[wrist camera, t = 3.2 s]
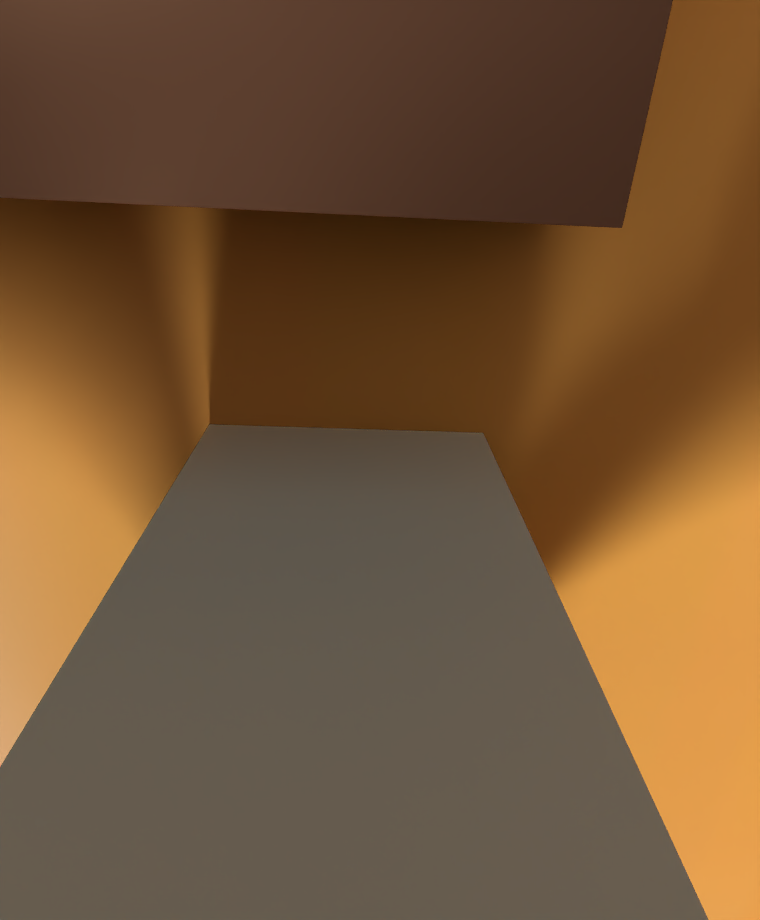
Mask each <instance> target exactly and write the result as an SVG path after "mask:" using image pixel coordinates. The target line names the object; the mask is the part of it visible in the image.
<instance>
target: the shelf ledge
mask: <svg viewBox="0 0 760 920" xmlns="http://www.w3.org/2000/svg"><path fill="white" fill-rule="evenodd" d="M672 2H673V0H0V198H18V199H39V200H59V201H80V202H100V203H121V204H141V205H162V206H182V207H203V208H223V209H244V210H264V211H285V212H305V213H326V214H346V215H367V216H387V217H408V218H428V219H449V220H469V221H490V222H510V223H531V224H551V225H572V226H592V227H613V228H622V226H623V221H624V217H625V212H626V208H627V203H628V199H629V194H630V190H631V185H632V181H633V176H634V172H635V167H636V163H637V159H638V154H639V150H640V145H641V141H642V136H643V132H644V127H645V123H646V118H647V114H648V109H649V105H650V100H651V96H652V91H653V87H654V82H655V78H656V73H657V69H658V64H659V60H660V56H661V51H662V47H663V42H664V38H665V33H666V29H667V24H668V20H669V15H670V11H671V6H672Z"/></svg>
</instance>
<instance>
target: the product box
mask: <svg viewBox="0 0 760 920" xmlns="http://www.w3.org/2000/svg"><path fill="white" fill-rule="evenodd" d="M0 920H708V918H707V916H706V913H705V911H704V909H703V907H702V905H701V903H700V901H699V898H698V896H697V894H696V892H695V890H694V888H693V885H692V883H691V881H690V879H689V877H688V875H687V872H686V870H685V868H684V866H683V864H682V862H681V859H680V857H679V855H678V853H677V851H676V849H675V846H674V844H673V842H672V840H671V838H670V836H669V834H668V831H667V829H666V827H665V825H664V823H663V821H662V818H661V816H660V814H659V812H658V810H657V808H656V805H655V803H654V801H653V799H652V797H651V795H650V792H649V790H648V788H647V786H646V784H645V782H644V779H643V777H642V775H641V773H640V771H639V769H638V766H637V764H636V762H635V760H634V758H633V756H632V754H631V751H630V749H629V747H628V745H627V743H626V741H625V738H624V736H623V734H622V732H621V730H620V728H619V725H618V723H617V721H616V719H615V717H614V715H613V712H612V710H611V708H610V706H609V704H608V702H607V699H606V697H605V695H604V693H603V691H602V689H601V686H600V684H599V682H598V680H597V678H596V676H595V674H594V671H593V669H592V667H591V665H590V663H589V661H588V658H587V656H586V654H585V652H584V650H583V648H582V645H581V643H580V641H579V639H578V637H577V635H576V632H575V630H574V628H573V626H572V624H571V622H570V619H569V617H568V615H567V613H566V611H565V609H564V606H563V604H562V602H561V600H560V598H559V596H558V594H557V591H556V589H555V587H554V585H553V583H552V581H551V578H550V576H549V574H548V572H547V570H546V568H545V565H544V563H543V561H542V559H541V557H540V555H539V552H538V550H537V548H536V546H535V544H534V542H533V539H532V537H531V535H530V533H529V531H528V529H527V526H526V524H525V522H524V520H523V518H522V516H521V514H520V511H519V509H518V507H517V505H516V503H515V501H514V498H513V496H512V494H511V492H510V490H509V488H508V485H507V483H506V481H505V479H504V477H503V475H502V472H501V470H500V468H499V466H498V464H497V462H496V459H495V457H494V455H493V453H492V451H491V449H490V446H489V444H488V442H487V440H486V438H485V436H484V434H483V433H475V432H442V431H410V430H378V429H345V428H313V427H281V426H248V425H216V424H209V426H208V427H207V429H206V431H205V432H204V434H203V436H202V437H201V439H200V440H199V442H198V444H197V445H196V447H195V449H194V450H193V452H192V454H191V455H190V457H189V459H188V460H187V462H186V463H185V465H184V467H183V468H182V470H181V472H180V473H179V475H178V477H177V478H176V480H175V481H174V483H173V485H172V486H171V488H170V490H169V491H168V493H167V495H166V496H165V498H164V500H163V501H162V503H161V504H160V506H159V508H158V509H157V511H156V513H155V514H154V516H153V518H152V519H151V521H150V522H149V524H148V526H147V527H146V529H145V531H144V532H143V534H142V536H141V537H140V539H139V540H138V542H137V544H136V545H135V547H134V549H133V550H132V552H131V554H130V555H129V557H128V559H127V560H126V562H125V563H124V565H123V567H122V568H121V570H120V572H119V573H118V575H117V577H116V578H115V580H114V581H113V583H112V585H111V586H110V588H109V590H108V591H107V593H106V595H105V596H104V598H103V600H102V601H101V603H100V604H99V606H98V608H97V609H96V611H95V613H94V614H93V616H92V618H91V619H90V621H89V622H88V624H87V626H86V627H85V629H84V631H83V632H82V634H81V636H80V637H79V639H78V640H77V642H76V644H75V645H74V647H73V649H72V650H71V652H70V654H69V655H68V657H67V659H66V660H65V662H64V663H63V665H62V667H61V668H60V670H59V672H58V673H57V675H56V677H55V678H54V680H53V681H52V683H51V685H50V686H49V688H48V690H47V691H46V693H45V695H44V696H43V698H42V699H41V701H40V703H39V704H38V706H37V708H36V709H35V711H34V713H33V714H32V716H31V718H30V719H29V721H28V722H27V724H26V726H25V727H24V729H23V731H22V732H21V734H20V736H19V737H18V739H17V740H16V742H15V744H14V745H13V747H12V749H11V750H10V752H9V754H8V755H7V757H6V759H5V760H4V762H3V763H2V765H1V767H0Z"/></svg>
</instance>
